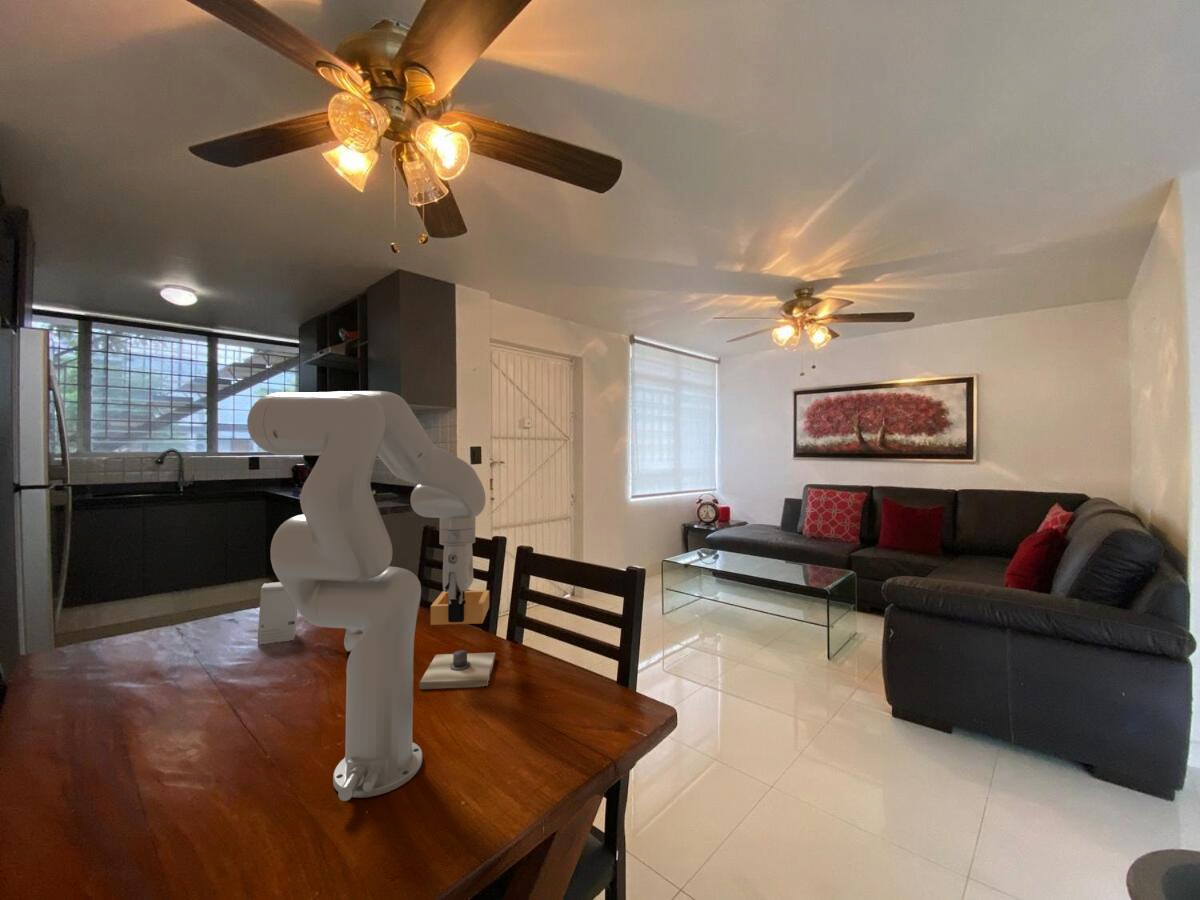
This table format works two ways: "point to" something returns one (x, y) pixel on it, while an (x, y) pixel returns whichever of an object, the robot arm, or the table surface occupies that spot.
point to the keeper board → (458, 670)
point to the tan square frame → (472, 609)
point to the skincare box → (276, 615)
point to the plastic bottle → (352, 638)
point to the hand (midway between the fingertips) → (456, 619)
